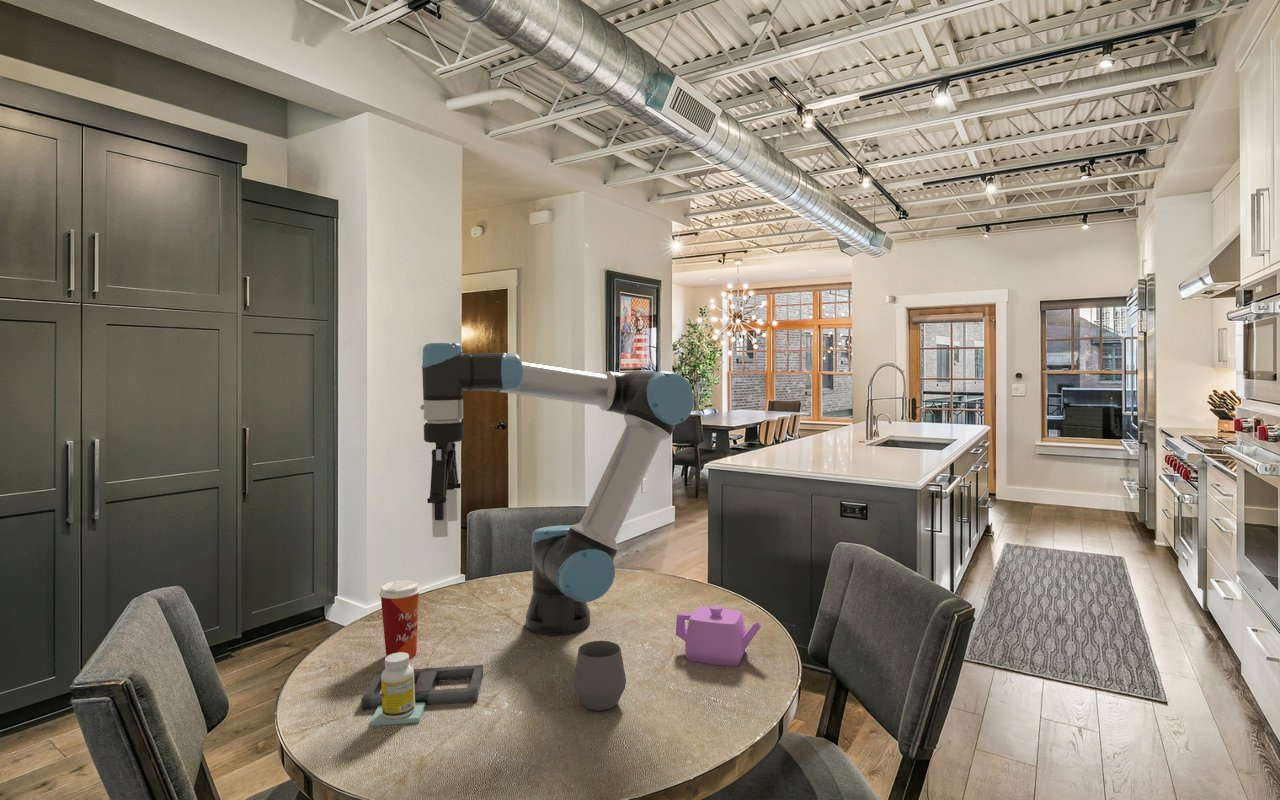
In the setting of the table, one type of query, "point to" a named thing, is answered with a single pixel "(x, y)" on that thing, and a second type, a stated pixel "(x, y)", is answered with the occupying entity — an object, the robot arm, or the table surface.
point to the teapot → (715, 635)
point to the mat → (412, 718)
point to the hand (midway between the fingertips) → (445, 528)
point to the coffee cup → (400, 616)
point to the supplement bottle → (397, 686)
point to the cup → (599, 675)
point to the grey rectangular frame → (432, 686)
